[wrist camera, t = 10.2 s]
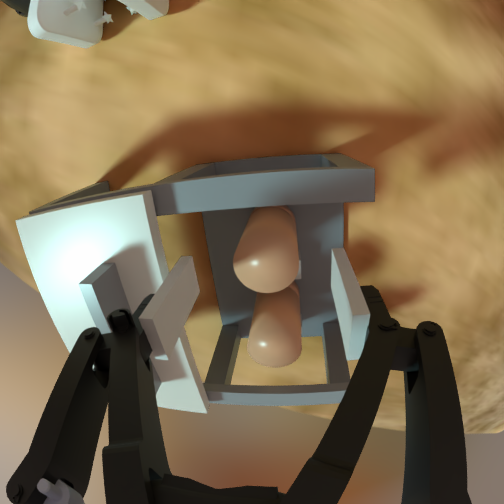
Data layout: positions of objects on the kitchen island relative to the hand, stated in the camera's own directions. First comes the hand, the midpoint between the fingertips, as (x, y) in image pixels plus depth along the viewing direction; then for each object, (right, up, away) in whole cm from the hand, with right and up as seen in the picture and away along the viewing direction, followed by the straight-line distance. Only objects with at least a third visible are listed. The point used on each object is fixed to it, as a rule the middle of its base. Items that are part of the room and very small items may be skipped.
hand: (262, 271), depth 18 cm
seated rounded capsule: (+2, -3, +13) cm, 14 cm away
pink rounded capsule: (+1, +4, +10) cm, 11 cm away
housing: (-5, 0, +13) cm, 14 cm away
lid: (-13, -5, +4) cm, 14 cm away
